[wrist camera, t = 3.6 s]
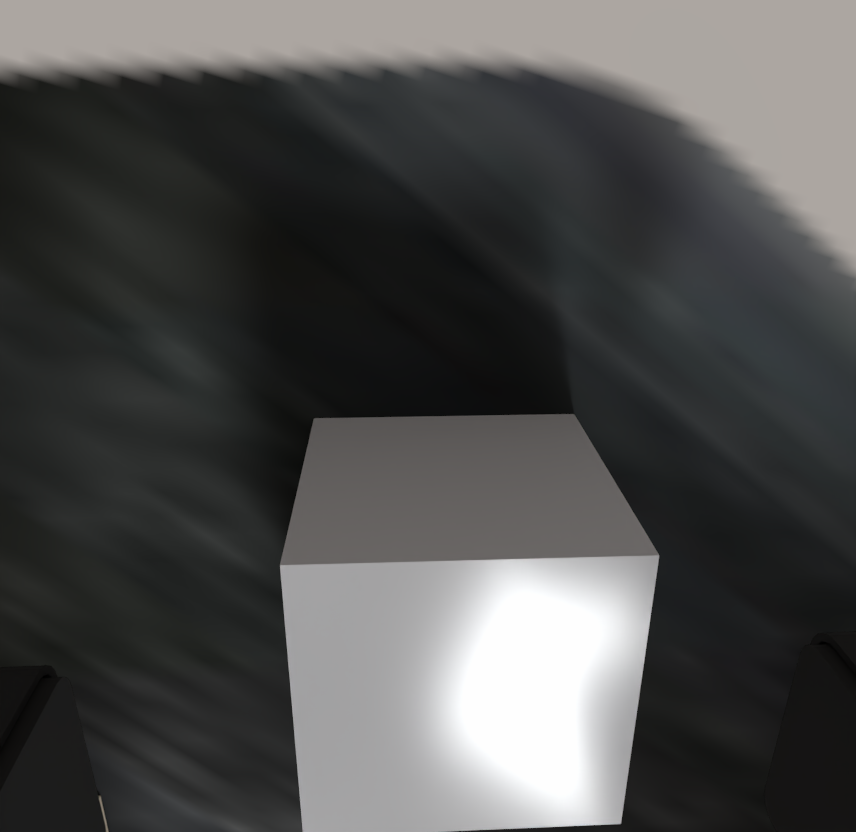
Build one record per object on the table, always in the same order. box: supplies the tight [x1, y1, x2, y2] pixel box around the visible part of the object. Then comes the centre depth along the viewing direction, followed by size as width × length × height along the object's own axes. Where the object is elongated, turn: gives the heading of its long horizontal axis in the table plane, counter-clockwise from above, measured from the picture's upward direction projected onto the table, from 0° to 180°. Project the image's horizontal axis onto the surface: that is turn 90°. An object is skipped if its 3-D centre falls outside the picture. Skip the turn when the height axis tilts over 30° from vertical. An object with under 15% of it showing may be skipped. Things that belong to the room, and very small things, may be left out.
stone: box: [280, 414, 659, 832], centre depth 13 cm, size 5×5×5 cm
